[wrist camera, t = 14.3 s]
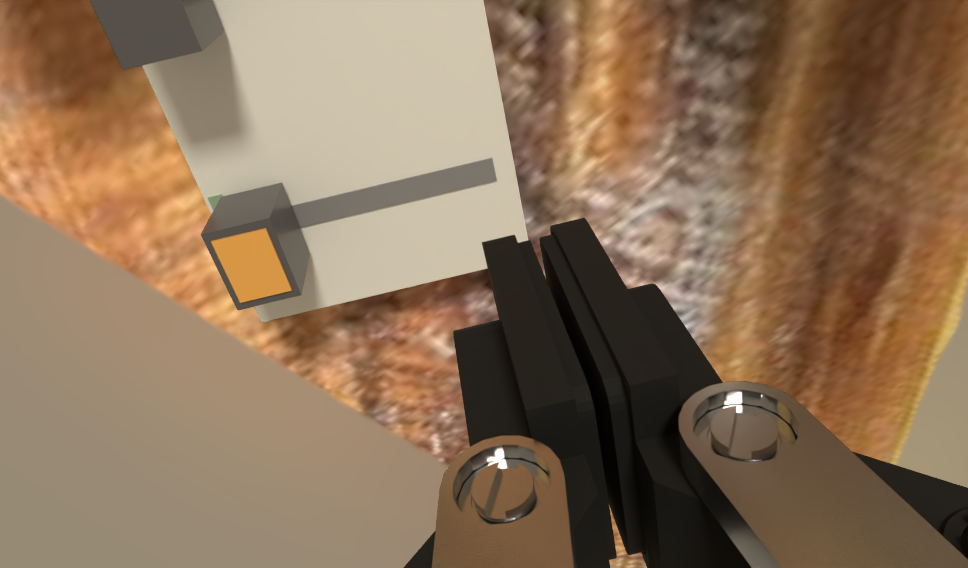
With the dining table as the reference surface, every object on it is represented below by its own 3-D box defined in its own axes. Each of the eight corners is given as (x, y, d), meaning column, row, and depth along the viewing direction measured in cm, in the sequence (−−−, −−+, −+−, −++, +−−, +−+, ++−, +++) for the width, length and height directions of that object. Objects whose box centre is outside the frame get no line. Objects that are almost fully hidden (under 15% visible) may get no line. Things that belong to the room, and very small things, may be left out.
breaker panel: (431, -238, 27) (436, -251, 24) (521, 233, 39) (531, 258, 36) (71, -152, 27) (37, -156, 24) (270, 293, 38) (261, 323, 36)
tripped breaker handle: (282, 182, 32) (269, 219, 28) (310, 253, 34) (301, 296, 30) (220, 196, 32) (200, 235, 28) (252, 267, 34) (237, 311, 30)
